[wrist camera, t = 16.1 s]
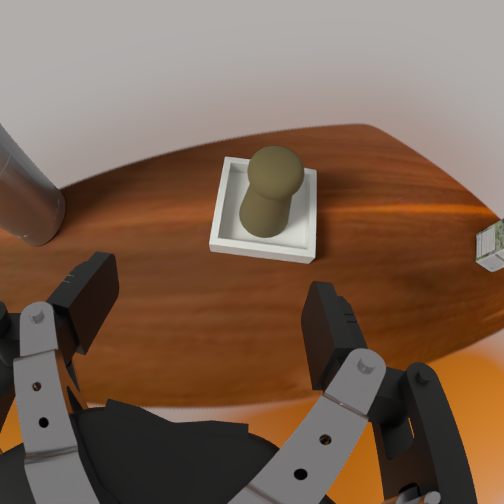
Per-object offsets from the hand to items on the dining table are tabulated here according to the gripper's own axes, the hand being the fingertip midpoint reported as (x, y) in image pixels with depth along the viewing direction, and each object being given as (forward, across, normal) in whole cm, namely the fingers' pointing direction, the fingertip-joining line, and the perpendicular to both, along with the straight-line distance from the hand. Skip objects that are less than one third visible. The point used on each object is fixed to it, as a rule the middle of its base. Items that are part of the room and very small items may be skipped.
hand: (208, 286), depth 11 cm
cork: (+23, -4, +5) cm, 24 cm away
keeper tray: (+24, -4, +5) cm, 24 cm away
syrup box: (+23, -44, +5) cm, 50 cm away
